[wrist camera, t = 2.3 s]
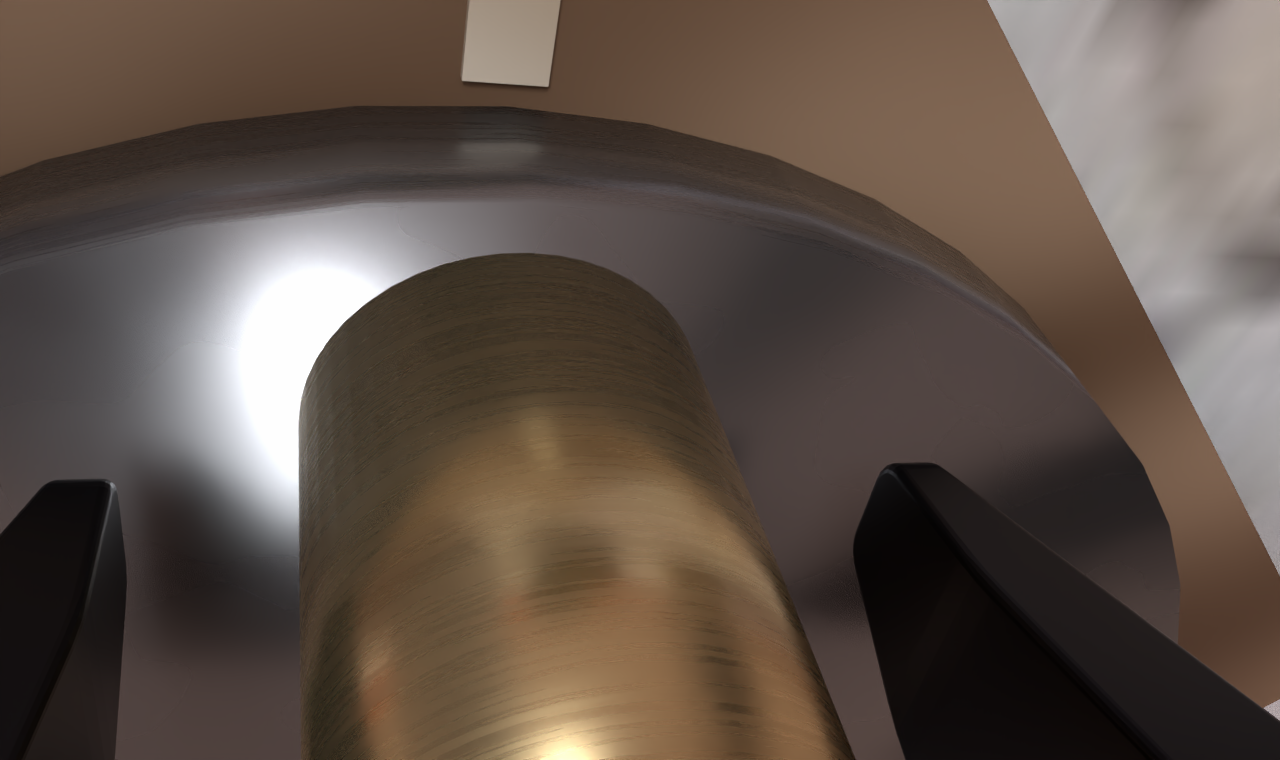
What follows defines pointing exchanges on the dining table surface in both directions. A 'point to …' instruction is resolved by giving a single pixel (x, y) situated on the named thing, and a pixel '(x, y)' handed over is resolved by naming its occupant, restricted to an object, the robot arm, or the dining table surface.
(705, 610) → the handwheel
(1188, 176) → the dining table surface
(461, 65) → the wheel base
